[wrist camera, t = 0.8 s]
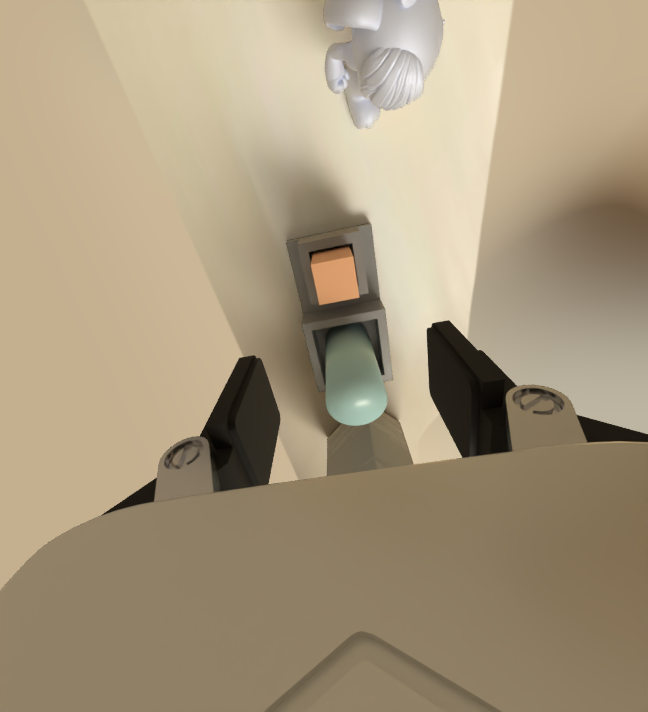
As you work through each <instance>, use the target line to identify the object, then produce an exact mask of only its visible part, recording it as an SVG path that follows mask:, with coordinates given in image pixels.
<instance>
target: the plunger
mask: <svg viewBox="0 0 648 712" xmlns="http://www.w3.org/2000/svg"><path fill="white" fill-rule="evenodd" d="M311 268H312V273H313V277H314V282H315V287H316V291H317V296H318V301H319V305H323V304H328V303H334V302H339V301H344V300H349V299H354V298H359V291H358V284H357V278H356V271H355V264H354V258H353V254H352V252H351V250H350V248H349V245H348V246H343V247H339V248H334V249H329V250H324V251H319V252H314V253H313V255H312V261H311Z"/></svg>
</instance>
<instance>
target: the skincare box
mask: <svg viewBox="0 0 648 712" xmlns="http://www.w3.org/2000/svg"><path fill="white" fill-rule="evenodd" d="M406 465H413V461H412V458H411V455H410V452H409V449H408V446H407V443H406V440H405V437H404V434H403V430H402V427H401V425H400V422H399V421H397V420H396V419H394V418H392V417H391V416H389V415H388V414H386V413H385V412H383V413H382V414H381V416H380V417H378V418H377V419H376V420H374V421H372V422H370V423H368V424H365V425H359V426H352V425H346V424H343V423H342V424H341V425H340V426H339V427H338V428H337V429H336V430H335V431H334V432H333V433H332V434H331V435H330V437H329V438H328V439H327V476H333V475H341V474H348V473H355V472H362V471H370V470H377V469H384V468H391V467H398V466H406Z"/></svg>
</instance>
